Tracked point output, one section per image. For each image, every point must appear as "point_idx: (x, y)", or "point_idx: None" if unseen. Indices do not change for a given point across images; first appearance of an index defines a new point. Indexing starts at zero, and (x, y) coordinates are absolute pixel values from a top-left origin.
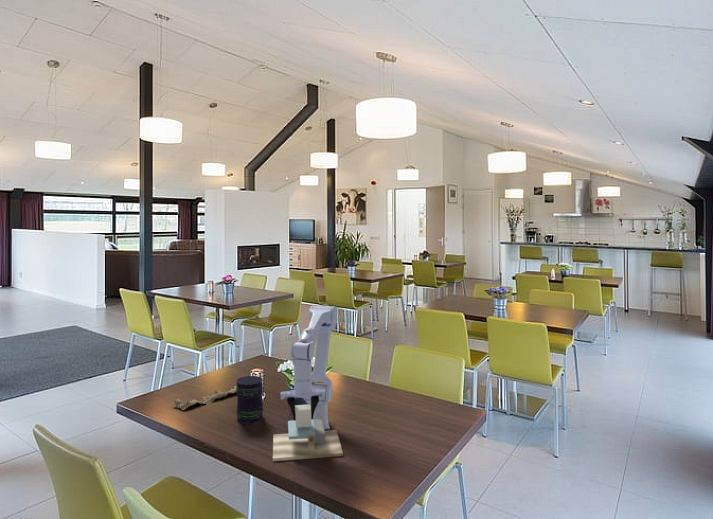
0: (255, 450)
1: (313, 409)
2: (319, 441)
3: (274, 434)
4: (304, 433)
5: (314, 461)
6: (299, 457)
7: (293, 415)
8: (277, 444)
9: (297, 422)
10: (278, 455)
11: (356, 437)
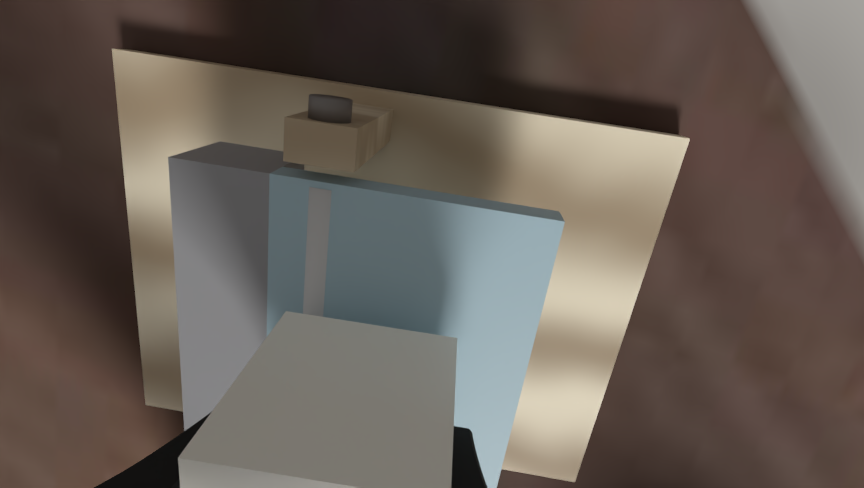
0: (745, 340)
1: (144, 476)
2: (261, 152)
3: (567, 479)
4: (382, 240)
5: (359, 27)
6: (468, 103)
7: (476, 476)
8: (586, 343)
9: (435, 371)
10: (630, 171)
11: (27, 293)
